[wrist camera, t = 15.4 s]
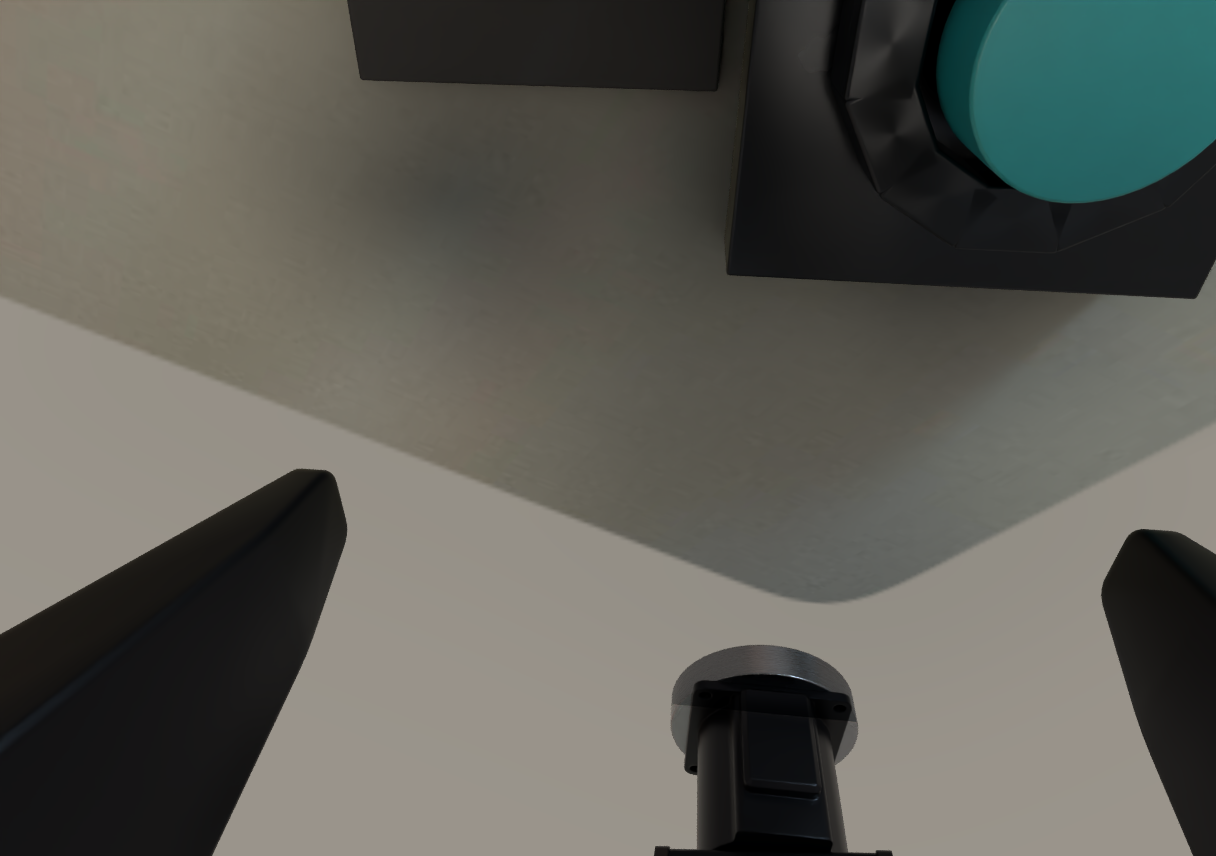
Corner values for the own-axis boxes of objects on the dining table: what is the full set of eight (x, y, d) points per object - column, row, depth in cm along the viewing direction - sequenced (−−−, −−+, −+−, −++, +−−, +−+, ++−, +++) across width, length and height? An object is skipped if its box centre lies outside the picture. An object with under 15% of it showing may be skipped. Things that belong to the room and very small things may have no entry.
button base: (1147, 260, 18) (1246, 340, 15) (723, 240, 19) (728, 311, 15) (1412, -328, 12) (1673, -413, 9) (781, -321, 13) (808, -397, 10)
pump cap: (1139, 172, 13) (1202, 209, 12) (910, 162, 14) (938, 198, 12) (1252, -103, 11) (1350, -103, 9) (973, -106, 11) (1020, -107, 10)
